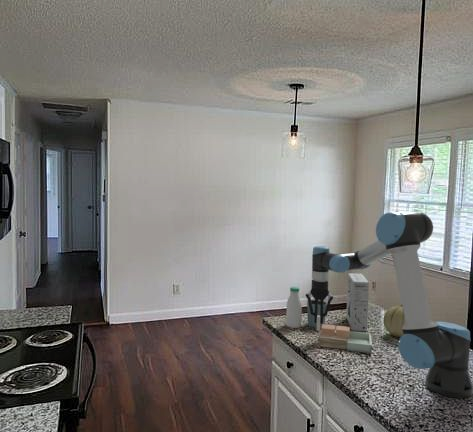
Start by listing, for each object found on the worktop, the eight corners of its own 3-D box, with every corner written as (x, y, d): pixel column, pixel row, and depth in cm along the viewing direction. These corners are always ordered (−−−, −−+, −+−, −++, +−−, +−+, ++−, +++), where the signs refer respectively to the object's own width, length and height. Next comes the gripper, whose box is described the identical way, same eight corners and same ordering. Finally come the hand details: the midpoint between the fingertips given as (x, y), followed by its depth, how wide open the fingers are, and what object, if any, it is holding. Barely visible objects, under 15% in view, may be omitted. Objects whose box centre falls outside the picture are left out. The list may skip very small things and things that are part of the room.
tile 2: (349, 337, 187) (349, 331, 187) (335, 336, 189) (335, 329, 189) (349, 333, 193) (349, 327, 193) (336, 331, 195) (336, 325, 195)
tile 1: (334, 336, 189) (334, 329, 189) (321, 334, 191) (321, 328, 191) (335, 331, 195) (335, 325, 195) (322, 330, 197) (322, 324, 196)
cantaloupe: (383, 339, 197) (385, 308, 196) (381, 329, 211) (383, 300, 210) (417, 343, 193) (419, 311, 192) (413, 333, 207) (414, 303, 206)
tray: (371, 353, 180) (371, 345, 180) (346, 350, 183) (347, 342, 183) (370, 340, 196) (370, 333, 195) (347, 338, 198) (348, 330, 198)
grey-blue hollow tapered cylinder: (303, 322, 221) (303, 300, 220) (320, 321, 224) (320, 299, 223) (312, 328, 211) (312, 305, 210) (329, 327, 214) (330, 304, 213)
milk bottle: (300, 329, 210) (302, 289, 209) (285, 327, 212) (286, 288, 210) (301, 324, 218) (302, 286, 216) (286, 323, 219) (287, 285, 218)
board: (346, 349, 184) (346, 340, 184) (319, 345, 187) (319, 337, 187) (347, 338, 197) (347, 330, 197) (321, 335, 201) (321, 327, 201)
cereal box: (346, 317, 231) (347, 273, 229) (360, 318, 230) (362, 273, 228) (351, 330, 209) (353, 281, 208) (367, 331, 208) (369, 282, 207)
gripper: (334, 279, 194) (333, 329, 196) (306, 277, 198) (305, 326, 199) (334, 282, 187) (332, 334, 189) (304, 280, 191) (303, 331, 192)
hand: (318, 329), depth 194 cm, fingers closed
